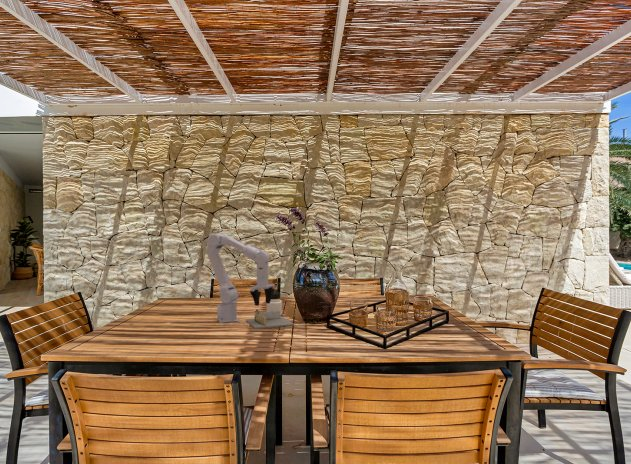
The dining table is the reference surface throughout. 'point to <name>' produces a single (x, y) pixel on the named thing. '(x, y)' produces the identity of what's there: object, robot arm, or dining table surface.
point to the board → (270, 323)
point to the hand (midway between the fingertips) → (262, 304)
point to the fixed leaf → (270, 314)
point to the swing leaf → (260, 318)
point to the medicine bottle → (275, 303)
